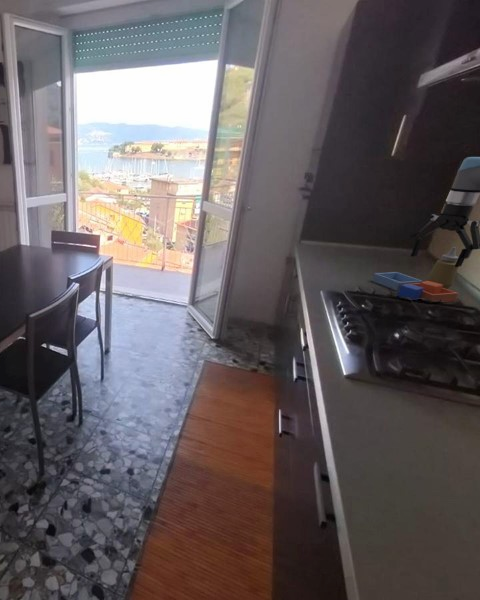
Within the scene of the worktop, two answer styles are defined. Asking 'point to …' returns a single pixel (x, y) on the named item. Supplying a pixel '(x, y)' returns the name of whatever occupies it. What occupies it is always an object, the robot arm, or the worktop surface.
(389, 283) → the blue bin
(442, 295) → the terracotta bin
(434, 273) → the squeeze bottle
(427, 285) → the terracotta cube
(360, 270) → the worktop surface
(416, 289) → the blue cube
